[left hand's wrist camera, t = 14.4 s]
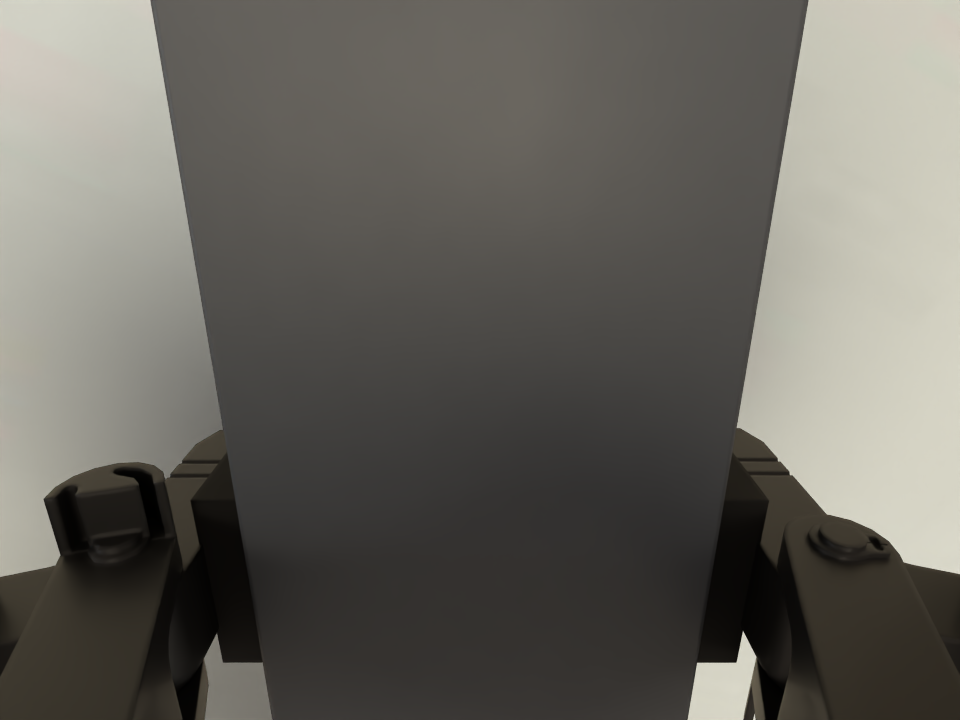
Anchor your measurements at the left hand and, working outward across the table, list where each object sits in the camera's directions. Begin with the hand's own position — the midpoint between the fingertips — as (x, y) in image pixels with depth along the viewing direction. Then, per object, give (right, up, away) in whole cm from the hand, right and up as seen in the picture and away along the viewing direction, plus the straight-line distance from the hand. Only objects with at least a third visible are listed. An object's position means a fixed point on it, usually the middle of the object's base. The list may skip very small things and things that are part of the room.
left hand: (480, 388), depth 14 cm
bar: (0, +21, -8) cm, 23 cm away
